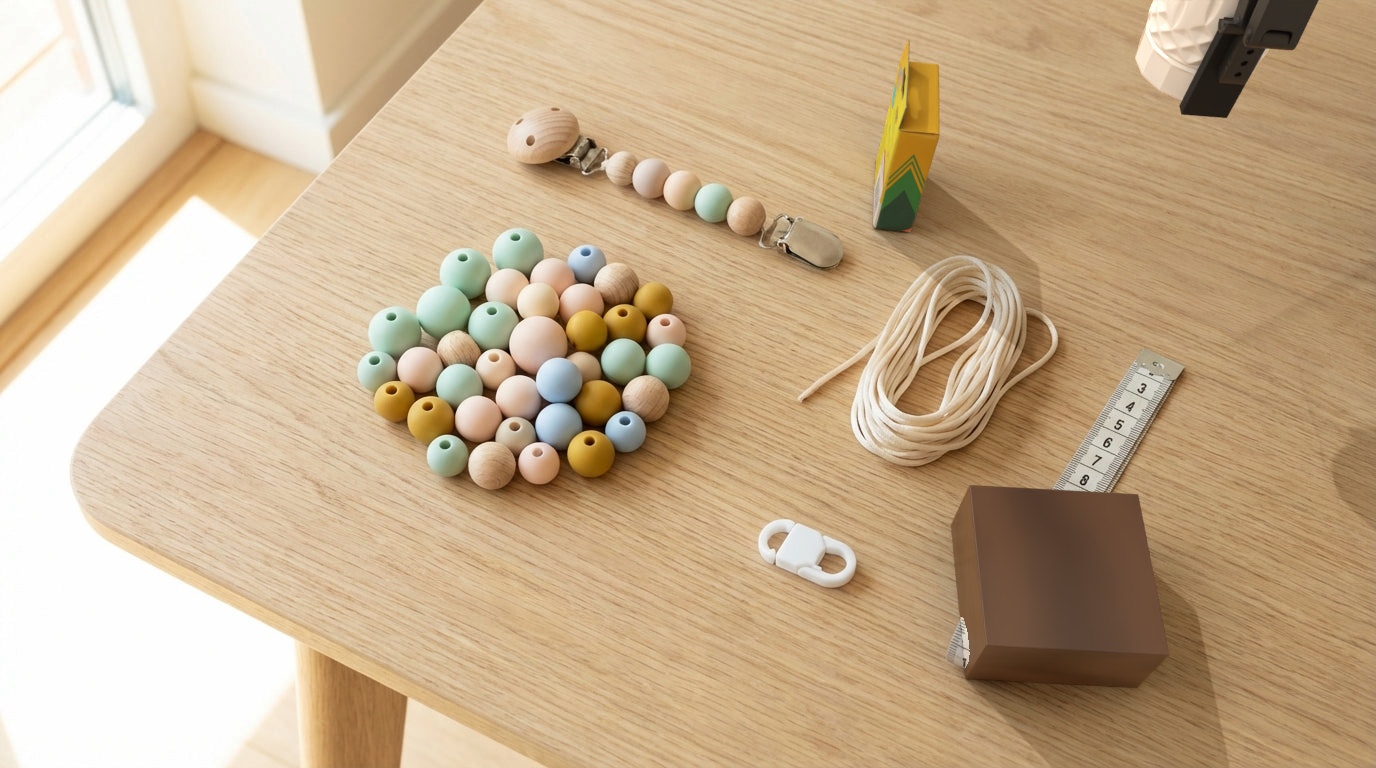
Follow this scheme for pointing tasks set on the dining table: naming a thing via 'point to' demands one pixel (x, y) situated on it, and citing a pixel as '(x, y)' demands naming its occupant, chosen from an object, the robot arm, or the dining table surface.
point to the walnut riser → (1056, 587)
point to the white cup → (1179, 41)
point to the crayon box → (906, 145)
